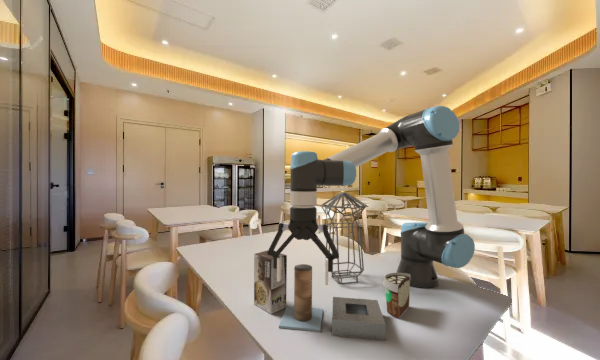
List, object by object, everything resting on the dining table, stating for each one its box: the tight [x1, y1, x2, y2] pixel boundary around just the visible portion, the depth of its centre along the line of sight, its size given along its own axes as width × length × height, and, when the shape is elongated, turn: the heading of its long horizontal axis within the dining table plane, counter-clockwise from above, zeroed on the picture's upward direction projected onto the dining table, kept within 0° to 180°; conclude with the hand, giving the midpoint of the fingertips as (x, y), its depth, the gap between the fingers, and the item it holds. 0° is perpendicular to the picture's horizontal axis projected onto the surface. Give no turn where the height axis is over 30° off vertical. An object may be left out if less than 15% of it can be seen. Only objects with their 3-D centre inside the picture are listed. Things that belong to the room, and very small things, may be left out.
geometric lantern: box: [320, 191, 369, 285], centre depth 103 cm, size 16×16×35 cm
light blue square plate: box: [278, 305, 324, 333], centre depth 73 cm, size 11×11×1 cm
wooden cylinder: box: [293, 263, 313, 322], centre depth 73 cm, size 5×5×14 cm
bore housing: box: [331, 296, 386, 341], centre depth 70 cm, size 13×13×4 cm
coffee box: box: [253, 249, 288, 315], centre depth 80 cm, size 9×6×16 cm
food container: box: [382, 272, 411, 320], centre depth 79 cm, size 12×6×10 cm, turn 141°
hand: (302, 281), depth 73 cm, fingers open, 13 cm apart
